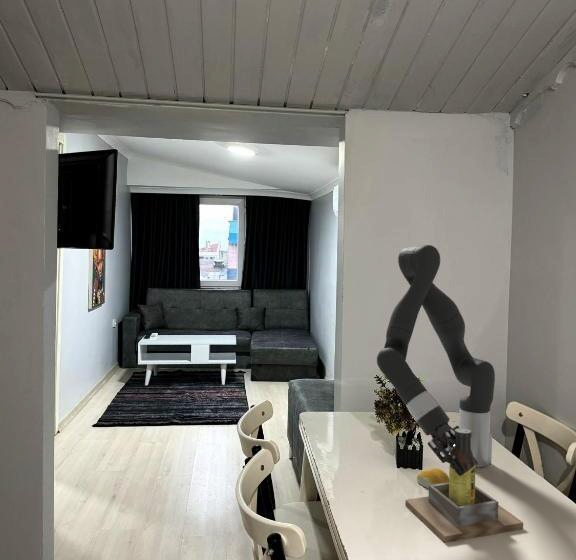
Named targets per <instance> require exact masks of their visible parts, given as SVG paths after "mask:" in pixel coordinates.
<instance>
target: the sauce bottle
mask: <svg viewBox="0 0 576 560" xmlns="http://www.w3.org/2000/svg"><path fill="white" fill-rule="evenodd" d="M471 436H472V434H471V431H470V430H468V429H464V428H458V429H455V449H454V453H455V456H456V459H458V460H459V461H460V463H461V464H462V465H463V467H464V468H465V470H466V473H464V474H463V475H461V476H459V475H458V474H457V473H456V471H455V470H454V469H453V467H452V466H451V464H450V463H449V475H448V477H449V499H450V500H451V501H452V502H453V503H455V504H456V505H457V506H458V507H459V506H466V505H472V504H474V503H475V486H476V468H477V467H475V465H476V463H475V459H474V457H473V454H472V450H471Z"/></svg>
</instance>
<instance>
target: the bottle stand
mask: <svg viewBox="0 0 576 560" xmlns="http://www.w3.org/2000/svg"><path fill="white" fill-rule="evenodd" d="M405 506H406V507H407V508H408V509H409V511H411V512H412V513H413V514H414V515H415V516H416V517H417V518H418V519H419V520H420V521H421V522H422V523H424V524H423V525H425V526H426V527H427V528H428V529H430V530H431V532H433V534H435V535H436V536H437V537H438V538H439V539H440V540H441V541H442V542H443V543H449V542H450V543H451V542H454V541H455V542H456V541H461V540H467V539H472V538H478V537H482V536H490V535H495V534H500V533H506V532H510V531H518V530H523V529H524V521H522V520H521V519H519V518H518V517H516V516H515V515H513V514H511V512H509V511H508V510H507V509H505V508H503V506H501V505H500V504H499V501H498V500H496V499H494V498H493V497H492V496H491V495H489V494H488V493H486V492H485V491H483V490H482V489H481V488H479V487H477V486H476V485H475V503H474V504H472V505H466V506H459V507H458V506H457V505H456V504H455V503H453V502H452V501H451V500H450V499H449V483H442V484H435V485H429V488H428V496H422V497H416V498H408V499H405Z"/></svg>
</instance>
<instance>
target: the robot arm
mask: <svg viewBox="0 0 576 560" xmlns="http://www.w3.org/2000/svg"><path fill="white" fill-rule="evenodd" d="M397 261H398V263H397V264H398V267H399V271H400V272H401V274H402V275H403V277H404V279H405V280H406V281H407V284H408V285H409V288H408V289H407V291H406V292H405V294H404V295H403V296H402V298H400V300H399V301H398V302H397V304H396V305H395V307H394V309H393V310H392V313H391V315H390V319H389V322H388V325H387V329H386V334H385V344H384V347H383V348H382V349H381V350H380V351H379V352H378V354H377V356H376V364H377V366H378V368H379V370H380V371H381V373H382V374H383V375H385V378H386V379H387V380H388V381H389V382H390V384H391V385H392V386H393V387H394V389H395V392H396V394H397V395H398V397H399V398H400V399H401V401H402V402H403V404H404V405H405V406H406V408H407V410H408V412H409V413H410V415H411V417H413V419H414V420H415V422H416V423H417V424H418V426H419V427H420V429H421V430H422V432H423V433H424V434H425V436H430V437H431V440H429V441H428V442H427V446H428V447H429V448H430V449H431V450H432V452H433V453H434V455H435V456H436V457H437V458H438V459H439V461H441V463H442V464H444V463H448V464H449V465H450V464H451V466H452V467H453V469H454V470H455V471H456V473H457V474H458V475H459V476H461V475H463V474H464V473H466V470H465V468H464V467H463V465H462V464H461V463H460V461H459V460H458V459H456V456H455V453H454V449H455V429H458V428H464V429H468V430H470V431H471V434H472V436H471V450H472V454H473V457H474V459H475V463H476V465H475V467H476V468H486V467H487V466H489V465H490V464H492V457H493V456H492V454H493V453H492V452H493V450H492V449H493V448H492V447H493V434H492V433H491V432H490V431H491V430H490V427H491V406H492V403H493V400H494V394H495V381H496V380H495V378H496V374H495V368H494V366H493V365H492V364H491V363H490V362H489V361H486V360H483V359H480V358H475V357H473V356H472V354H471V353H470V351H469V350H468V347H467V345H466V342H465V334H466V324H465V320H464V318H463V315H462V314H461V312H460V310H459V307H458V305H457V304H456V303H455V302H454V300H453V299H451V297H449V296H448V295H447V294H446V293H445V292H443V291H442V290H441V289H440V288H439V287H438V286H436V284H434V280H435V278H436V276H437V274H438V272H439V269H440V265H441V255H440V252H439V250H438V249H437V248H436V247H435V246H434V245H430V244H423V245H422V244H421V245H413V246H409V247H405V248H403V249H401V250H400V252H399V254H398V257H397ZM421 308H423V311H425V312H424V313H426V316H427V317H428V320H429V322H430V324H431V326H432V328H433V330H434V331H435V333H436V335H437V337H438V338H439V341H440V343H441V346H442V347H443V350H444V351H445V352H446V355H447V358H448V360H449V361H448V362H449V363H450V366H451V369H452V371H453V374H454V375H455V378H456V380H458V382H459V383H461V384H462V385H464V386H467V387H469V388H470V389H469V396H467V395H466V396H463V397H461V398H460V399H459V409H458V410H459V414H458V416H459V417H458V418H459V419H458V425H455V426H454V427H453V426H450V424H449V422H450V417H449V416H448V415H447V413H446V411H444V409H443V407H442V406H441V405H440V404H439V402H438V401H437V400H436V399H435V397H434V396H433V395H432V394H431V393H430V392H429V391H428V390H427V388H426V387H425V386H424V384H423V383H422V381H421V380H420V379H419V378H418V377H417V376H416V375H415V373H414V372H413V370H412V369H411V367H410V366H409V364H408V363H407V356H408V355H407V354H408V349H409V345H410V342H411V338H412V335H413V333H414V329H415V325H416V322H417V319H418V315H419V313H420V310H421Z"/></svg>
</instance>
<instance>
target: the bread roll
mask: <svg viewBox="0 0 576 560" xmlns="http://www.w3.org/2000/svg"><path fill="white" fill-rule="evenodd" d="M416 481H417V483H418V484H419V485H421V486H422V487H424V488H427V489H429V485H435V484H442V483H449V475H448V474H447V473H446V472H445V471H444V470H442V469H440V468H435V467H434V468H427V469H425V470H421V471H419V472H418V473H417V475H416Z"/></svg>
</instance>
